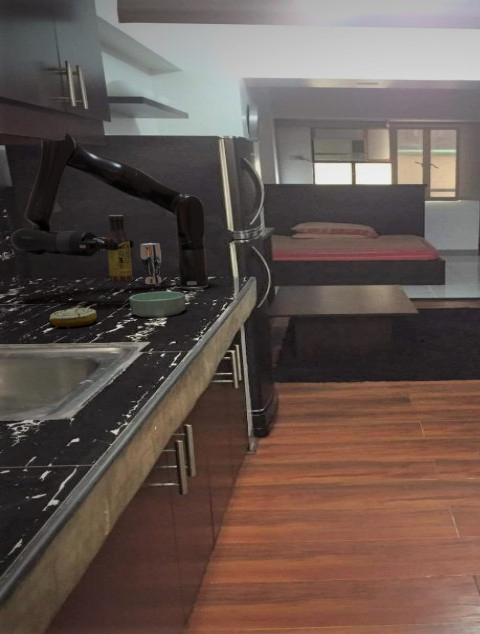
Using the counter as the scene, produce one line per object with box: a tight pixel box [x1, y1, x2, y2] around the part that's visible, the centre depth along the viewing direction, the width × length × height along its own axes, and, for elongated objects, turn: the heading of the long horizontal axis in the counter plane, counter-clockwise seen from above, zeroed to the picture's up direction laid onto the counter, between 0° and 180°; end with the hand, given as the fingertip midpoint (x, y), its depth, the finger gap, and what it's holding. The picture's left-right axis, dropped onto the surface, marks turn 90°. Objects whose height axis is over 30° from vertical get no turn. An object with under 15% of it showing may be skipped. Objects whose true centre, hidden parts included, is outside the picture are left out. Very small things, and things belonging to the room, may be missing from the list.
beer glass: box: [139, 242, 163, 286], centre depth 224 cm, size 7×7×15 cm
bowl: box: [129, 291, 187, 318], centre depth 176 cm, size 15×15×5 cm
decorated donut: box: [49, 307, 98, 328], centre depth 161 cm, size 10×11×4 cm
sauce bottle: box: [106, 214, 133, 283], centre depth 181 cm, size 7×6×20 cm
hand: (125, 245), depth 180 cm, fingers closed on sauce bottle, 6 cm apart
